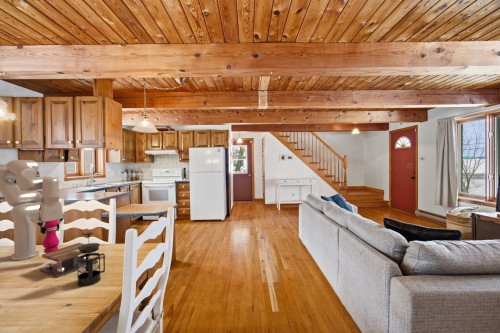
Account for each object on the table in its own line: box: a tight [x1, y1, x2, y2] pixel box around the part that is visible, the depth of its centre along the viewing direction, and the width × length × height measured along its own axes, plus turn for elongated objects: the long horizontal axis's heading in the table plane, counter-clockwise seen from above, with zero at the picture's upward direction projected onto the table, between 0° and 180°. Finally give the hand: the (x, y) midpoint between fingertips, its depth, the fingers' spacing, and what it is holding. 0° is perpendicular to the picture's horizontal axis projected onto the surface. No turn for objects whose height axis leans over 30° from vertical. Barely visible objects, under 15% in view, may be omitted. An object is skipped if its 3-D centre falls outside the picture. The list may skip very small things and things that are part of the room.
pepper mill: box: [42, 220, 60, 254], centre depth 136 cm, size 7×7×20 cm
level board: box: [41, 242, 85, 263], centre depth 131 cm, size 15×18×2 cm
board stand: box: [39, 255, 99, 279], centre depth 131 cm, size 16×20×6 cm
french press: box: [76, 231, 106, 287], centre depth 115 cm, size 12×9×23 cm
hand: (50, 231), depth 137 cm, fingers closed on pepper mill, 5 cm apart
